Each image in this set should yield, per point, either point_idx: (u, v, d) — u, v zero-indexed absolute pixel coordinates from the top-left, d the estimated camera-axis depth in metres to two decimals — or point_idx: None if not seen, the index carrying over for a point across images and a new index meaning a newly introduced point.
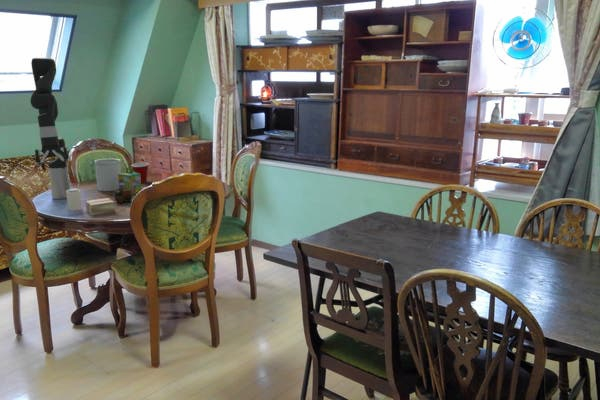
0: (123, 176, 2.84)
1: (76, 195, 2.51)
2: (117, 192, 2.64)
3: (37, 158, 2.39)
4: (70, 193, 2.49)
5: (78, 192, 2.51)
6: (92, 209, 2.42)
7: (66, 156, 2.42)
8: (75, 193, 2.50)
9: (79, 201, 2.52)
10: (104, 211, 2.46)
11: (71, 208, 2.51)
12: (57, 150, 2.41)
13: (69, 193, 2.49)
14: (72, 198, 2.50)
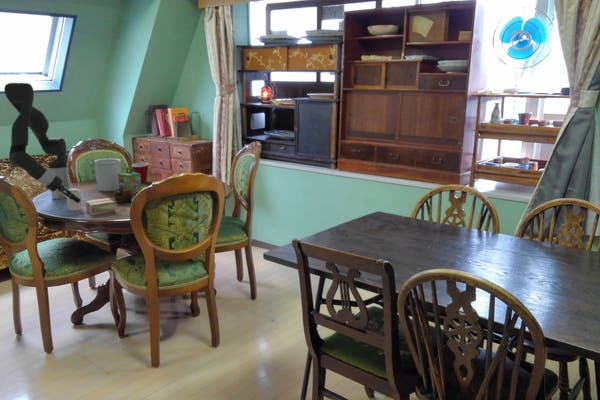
0: (123, 176, 2.84)
1: (76, 195, 2.51)
2: (117, 192, 2.64)
3: None
4: None
5: (78, 192, 2.51)
6: (92, 209, 2.42)
7: (69, 197, 2.46)
8: (75, 193, 2.50)
9: None
10: (104, 211, 2.46)
11: (71, 208, 2.51)
12: (61, 191, 2.46)
13: None
14: None
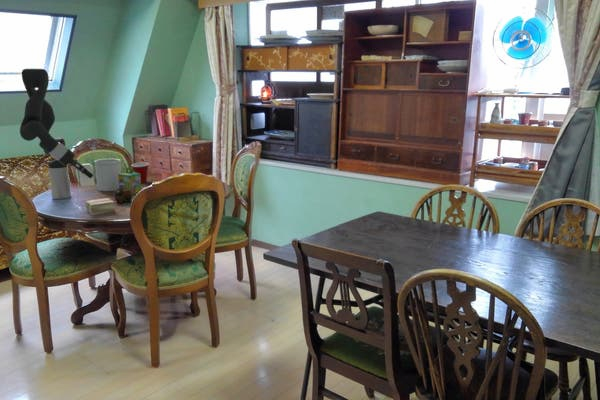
0: (123, 176, 2.84)
1: (88, 170, 2.44)
2: (117, 192, 2.64)
3: None
4: (82, 168, 2.42)
5: (90, 167, 2.44)
6: (92, 209, 2.42)
7: (81, 171, 2.40)
8: (87, 168, 2.44)
9: None
10: (104, 211, 2.46)
11: (83, 183, 2.44)
12: (73, 165, 2.40)
13: None
14: None
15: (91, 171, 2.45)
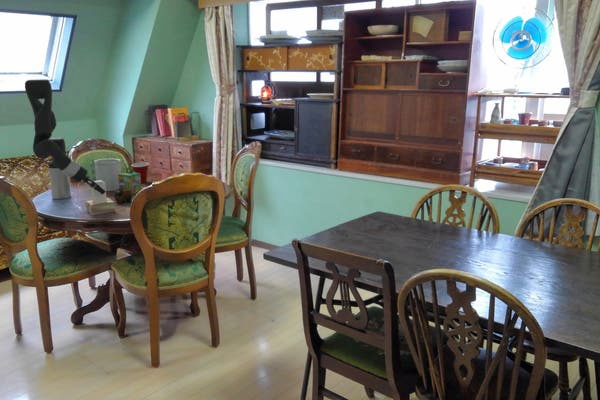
0: (123, 176, 2.84)
1: (101, 187, 2.45)
2: (117, 192, 2.64)
3: None
4: (95, 185, 2.44)
5: (103, 184, 2.46)
6: (92, 209, 2.42)
7: (94, 188, 2.40)
8: (100, 185, 2.45)
9: (104, 193, 2.47)
10: (104, 211, 2.46)
11: (96, 200, 2.45)
12: None
13: (94, 185, 2.43)
14: None
15: (103, 188, 2.46)
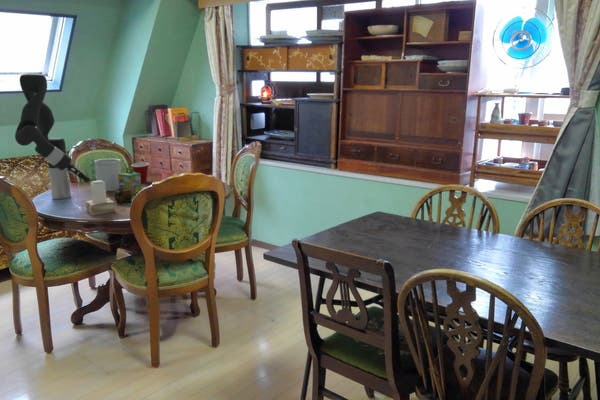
0: (123, 176, 2.84)
1: (101, 187, 2.45)
2: (117, 192, 2.64)
3: None
4: (95, 185, 2.44)
5: (103, 184, 2.46)
6: (92, 209, 2.42)
7: None
8: (100, 185, 2.45)
9: (104, 193, 2.47)
10: (104, 211, 2.46)
11: (96, 200, 2.45)
12: (70, 170, 2.36)
13: (94, 185, 2.43)
14: (97, 190, 2.45)
15: (103, 188, 2.46)
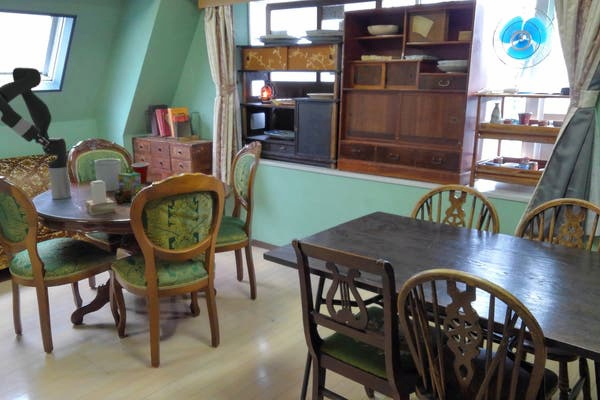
0: (123, 176, 2.84)
1: (101, 187, 2.45)
2: (117, 192, 2.64)
3: None
4: (95, 185, 2.44)
5: (103, 184, 2.46)
6: (92, 209, 2.42)
7: (45, 147, 2.28)
8: (100, 185, 2.45)
9: (104, 193, 2.47)
10: (104, 211, 2.46)
11: (96, 200, 2.45)
12: (38, 142, 2.29)
13: (94, 185, 2.43)
14: (97, 190, 2.45)
15: (103, 188, 2.46)
